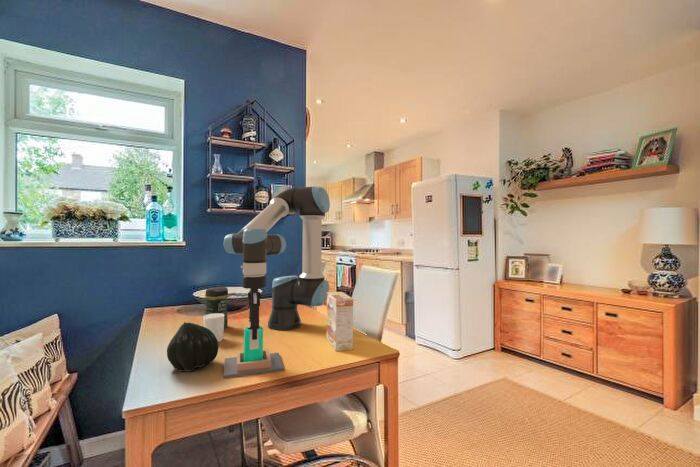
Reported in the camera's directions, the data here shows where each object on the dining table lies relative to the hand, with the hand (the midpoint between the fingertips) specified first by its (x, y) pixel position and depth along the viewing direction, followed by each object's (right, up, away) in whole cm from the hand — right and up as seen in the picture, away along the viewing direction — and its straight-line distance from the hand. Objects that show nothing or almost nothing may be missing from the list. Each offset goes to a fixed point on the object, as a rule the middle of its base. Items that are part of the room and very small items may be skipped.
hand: (253, 345), depth 108 cm
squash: (-20, -7, -1) cm, 21 cm away
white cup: (-23, -6, +24) cm, 34 cm away
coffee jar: (-29, -6, +41) cm, 51 cm away
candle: (0, -5, 0) cm, 5 cm away
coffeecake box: (+27, -7, +22) cm, 36 cm away
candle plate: (0, -7, 0) cm, 7 cm away
